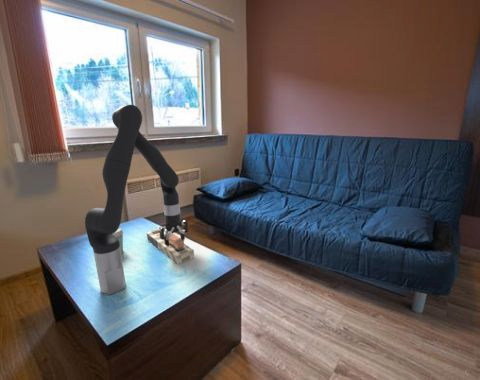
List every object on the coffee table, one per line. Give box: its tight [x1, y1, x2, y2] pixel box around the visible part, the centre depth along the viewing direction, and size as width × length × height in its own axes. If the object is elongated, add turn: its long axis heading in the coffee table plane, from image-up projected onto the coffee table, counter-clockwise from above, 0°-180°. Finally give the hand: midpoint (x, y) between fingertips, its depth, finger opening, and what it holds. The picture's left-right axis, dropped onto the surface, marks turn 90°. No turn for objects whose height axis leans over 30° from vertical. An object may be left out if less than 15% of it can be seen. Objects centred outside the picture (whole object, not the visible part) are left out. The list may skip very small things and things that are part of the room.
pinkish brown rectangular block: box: [168, 233, 185, 252], centre depth 130 cm, size 12×4×8 cm, turn 41°
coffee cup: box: [112, 227, 124, 253], centre depth 132 cm, size 8×8×12 cm
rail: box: [146, 228, 195, 265], centre depth 136 cm, size 36×9×4 cm, turn 41°
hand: (175, 243), depth 129 cm, fingers open, 7 cm apart
